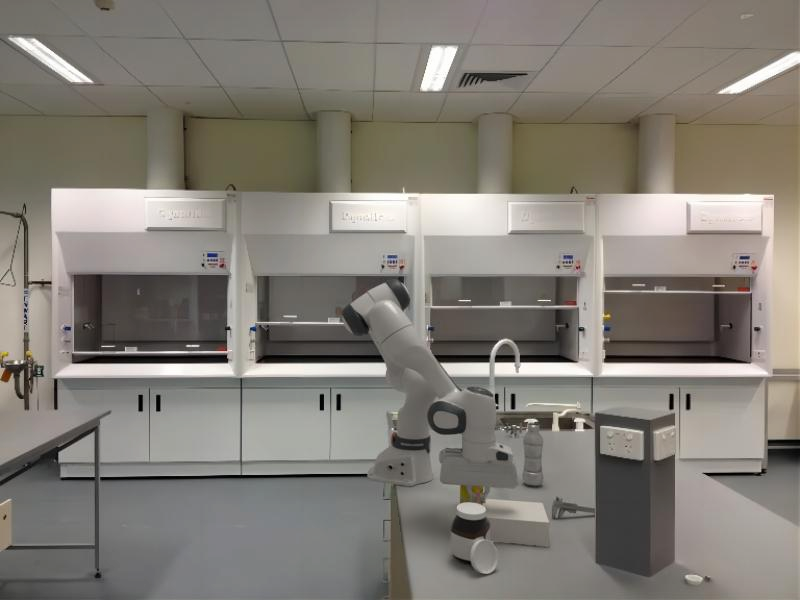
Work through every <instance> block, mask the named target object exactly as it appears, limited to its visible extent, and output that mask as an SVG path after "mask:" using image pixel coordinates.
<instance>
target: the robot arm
mask: <svg viewBox="0 0 800 600" xmlns="http://www.w3.org/2000/svg"><path fill="white" fill-rule="evenodd" d="M410 303H411V297H410V293H409V289H408V288H407V287H406V285H405V284H404V283H403V282H401V281H400V280H399V279H396V278H392V279H388V280H385V281H384V282H383V283H381V284H379V285H376V286H375V287H372V288H370V289H369V290H367V291H366V292H365V293H364V294H362V295H360V296H359V297H357V298H356V299H355V300H353V302H352V303H351V302H350V303H348V304H347V305H346V306H345V307H344V308H343V309H342V310H341V319H342V323H343V326H344V327H345V328H346V330H347V331H348V332H349V333H351V334H352V335H353V336H355V337H362V336H365V335H366V336H367V335H369V336H370V337H371V339H372V342H373V343H374V344H375V346H376V349H377V350H378V351H379V354H380V355H381V357H382V359H383V361H384V363H385V368H386V370H385V380H386V381H385V382H386V383H387V384H388V386H390V387H391V388H393V389H394V390H396V391H397V392H400V393H404V394H405V400H404V404H403V406H402V407H401V408H400V409H399V410H398V412H397V414H396V415H397V418H396V420H397V421H396V423H397V424H396V425H397V427H396V430H397V431H395V432H393V433H392V434H391V438H390V443H391V445H389V446H388V447H386V448H385V449H383V451H380V453H378V455H377V456H376V458H375V461H374V465H373V466H372V467H371V468H369V470H368V471H367V475H366V477H367V479H368V480H369V481H370V482H377V483H385V484H391V485H399V486H406V487H414V486H415V485H419V484H424V483H428V482H430V481H432V480H433V479H434V473H433V470H432V463H431V454H430V453H431V448H432V440H431V435H430V429H431V430H432V431H434V432H435V433H436V434H439V435H441V436H449V435H453V436H454V435H461V447H460V448H459V447H458V448H457V447H456V448H455V447H454V448H450V447H445V448H444V449H442V450H440V452H439V455H438V456H439V457H438V459H439V460H438V461H439V463H440V464H441V467H440V473H439V481H440V483H442V484H443V485H453V486H460V485H464V486H467V491H468V493H469V495H470V496H471V502H473V503H476V494H473V492H472V486H479V487H483V488H484V491H483V494H480V503H486V499H487V497H488V495H489V493H490V492H491V488H497V489H512V490H515V489H516V488H517V487H518V485H519V482H518V481H519V480H518V479H519V478H518V471H517V466H516V463H515V460H514V453H513V449H512V448H511V447H510V446H508V445H505V444H502V443H499V442H497V438H496V434H495V433H496V431H495V428H496V426H497V405H496V398H495V396H494V394H493V393H492V392H491V391H490V390H488V389H486V388H484V387H480V386H468V387H466V388H465V389H462V388H460V387H459V386H458V385H457V383H455V382H454V380H453V378H451V376H450V375H449V373H448V372H447V371H446V370H445V368H444V367H443V365H442V364H441V363H440V361H439V360H438V359H437V357H436V356H435V355H434V354H433V353H432V351H431V350H430V349H429V347H428V346H427V344H426V342H425V341H424V340H423V338H422V336H421V335H420V333H419V332H418V330H417V329H416V327H415V326H414V324H413V322H412V321H411V319H410V318H409V317H408V316H407V315H406V313H405V312H404V311H405V310H406V309H407V308H408V307H409V306H410ZM437 398H438V399H437ZM436 399H437V400H436ZM435 400H436V401H435Z"/></svg>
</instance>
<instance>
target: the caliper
mask: <svg viewBox="0 0 800 600" xmlns="http://www.w3.org/2000/svg"><path fill="white" fill-rule="evenodd" d="M595 507H596V506H588V505H583V504H578V503H576V502H572V501H566V500H563V498H562V497H561V496H560V497H558V496H556V497H555V499H553V502H552V505H551V518H552V519H553V520H556V517H557V519H559V520H562V517H564V514H565V512H566V511H567V512H568V513H571V514H572V513H573V514H576V513H577V512H582V513H591V514H596V513H595ZM557 512H558V513H557Z"/></svg>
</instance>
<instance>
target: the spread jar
mask: <svg viewBox="0 0 800 600" xmlns="http://www.w3.org/2000/svg"><path fill="white" fill-rule="evenodd" d="M450 553H451V556H452V557H453V558H454V559H455V560H457V561H458V562H459V563H461V564H463V563H464V565H466V564H468V566H472V568H473V569H474V570H475V571H476V572H478V573H480V574H484V575H489V574H491V573H492V572H494V571H495V570H496V568H497V566H498V562H499V551H498V549H497V547H496V545H495V544H494V542H491V541H490V522H489V519H488V518H487V517H486V508H485V507H484V506H482V505H480V504H477V503H471V502H466V503H461V504H460V503H459V504H458V505H457V506H456V514H455V517H454V519H453V520H452V524H451V527H450ZM487 570H488V571H487Z"/></svg>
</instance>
